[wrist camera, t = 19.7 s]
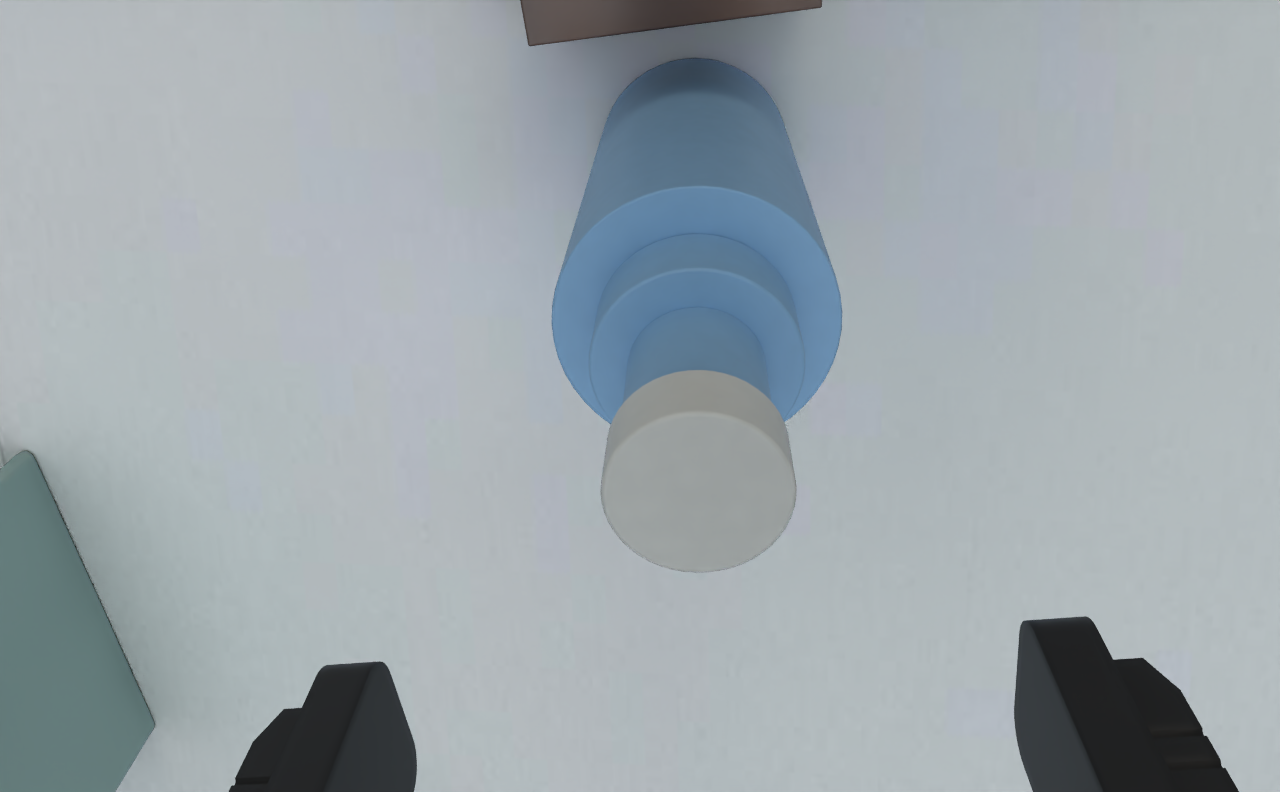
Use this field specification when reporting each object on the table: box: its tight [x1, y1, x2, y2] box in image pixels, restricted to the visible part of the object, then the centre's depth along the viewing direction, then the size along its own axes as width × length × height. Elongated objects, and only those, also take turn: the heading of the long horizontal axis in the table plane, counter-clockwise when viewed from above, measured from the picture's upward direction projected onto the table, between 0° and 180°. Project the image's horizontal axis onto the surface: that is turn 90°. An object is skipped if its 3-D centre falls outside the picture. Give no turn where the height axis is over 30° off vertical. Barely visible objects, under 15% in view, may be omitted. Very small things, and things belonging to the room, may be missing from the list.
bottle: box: [552, 58, 842, 572], centre depth 26 cm, size 18×6×18 cm
